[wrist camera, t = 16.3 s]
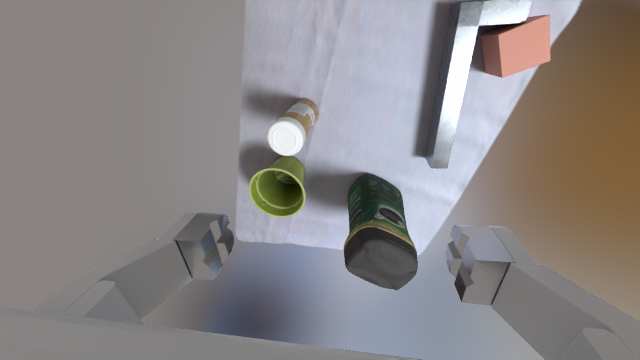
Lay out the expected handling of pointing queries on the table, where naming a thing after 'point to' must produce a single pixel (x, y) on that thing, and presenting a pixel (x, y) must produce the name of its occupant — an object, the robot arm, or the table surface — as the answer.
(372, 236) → the coffee jar
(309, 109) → the sprinkles bottle
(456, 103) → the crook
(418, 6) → the table surface
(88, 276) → the robot arm
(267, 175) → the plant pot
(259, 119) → the table surface
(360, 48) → the table surface
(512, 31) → the block
